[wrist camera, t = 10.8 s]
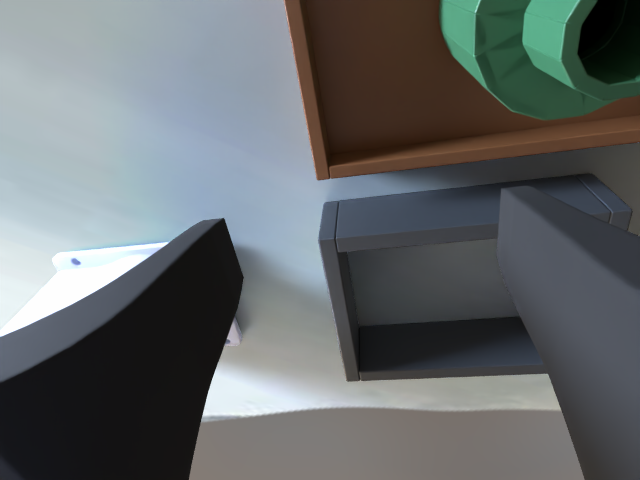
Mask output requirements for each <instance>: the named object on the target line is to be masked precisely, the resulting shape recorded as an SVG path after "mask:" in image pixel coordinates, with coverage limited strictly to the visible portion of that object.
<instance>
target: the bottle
mask: <svg viewBox="0 0 640 480" xmlns="http://www.w3.org/2000/svg"><path fill="white" fill-rule="evenodd" d="M439 24H440V29H441V33H442V36H443V39H444V42H445V44H446V45H447V47H448V49H449V50H450V53H451V54H452V56H453V57H454V58H455V59H456V60H457V61H458V62H459V63H460V64H461V65H462V66H463V67H464V68H465V69H466V70H467V71H468V72H469V73H470V74H471V75H472V76H473V77H474V78H475V79H476V80H477V81H478V82H479V83H480V84H481V85H482V86H483V87H484V88H485V89H486V90H487V91H489V92H490V93H491V94H492V95H493V96H494V97H495V98H497V99H498V100H499V101H500V102H501V103H502V104H503V105H505V106H506V107H507V108H508V109H509V110H510V111H512V112H514V113H518V114H522V115H526V116H530V117H533V118H537V119H541V120H554V119H562V118H570V117H578V116H583V115H587V114H589V113H591V112H593V111H595V110H597V109H599V108H601V107H603V106H605V105H608V104H610V103H612V102H614V101H616V100H618V99H621V98H629V97H636V96H637V95H640V0H440V1H439Z"/></svg>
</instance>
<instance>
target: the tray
mask: <svg viewBox="0 0 640 480" xmlns="http://www.w3.org/2000/svg"><path fill="white" fill-rule="evenodd" d="M439 1H440V0H284V5H285V10H286V16H287V21H288V27H289V32H290V37H291V43H292V48H293V53H294V59H295V64H296V70H297V75H298V80H299V86H300V91H301V97H302V102H303V107H304V113H305V118H306V124H307V129H308V134H309V140H310V145H311V151H312V156H313V161H314V167H315V172H316V178H317V180H325V179H330V178H331V179H333V178H341V177H350V176H358V175H367V174H375V173H384V172H392V171H401V170H409V169H418V168H426V167H435V166H443V165H451V164H460V163H468V162H477V161H485V160H494V159H502V158H511V157H519V156H528V155H536V154H545V153H553V152H562V151H570V150H579V149H587V148H596V147H604V146H612V145H621V144H629V143H638V142H640V95H637V96H636V97H629V98H621V99H618V100H616V101H614V102H612V103H610V104H608V105H605V106H603V107H601V108H599V109H597V110H595V111H593V112H591V113H589V114H587V115H583V116H578V117H570V118H562V119H554V120H541V119H537V118H533V117H530V116H526V115H522V114H518V113H514V112H512V111H510V110H509V109H508V108H507V107H506V106H505V105H503V104H502V103H501V102H500V101H499V100H498V99H497V98H495V97H494V96H493V95H492V94H491V93H490V92H489V91H487V90H486V89H485V88H484V87H483V86H482V85H481V84H480V83H479V82H478V81H477V80H476V79H475V78H474V77H473V76H472V75H471V74H470V73H469V72H468V71H467V70H466V69H465V68H464V67H463V66H462V65H461V64H460V63H459V62H458V61H457V60H456V59H455V58H454V57H453V56H452V54H451V53H450V50H449V49H448V47H447V45H446V44H445V42H444V39H443V36H442V33H441V29H440V24H439Z"/></svg>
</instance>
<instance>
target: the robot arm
mask: <svg viewBox="0 0 640 480" xmlns="http://www.w3.org/2000/svg"><path fill="white" fill-rule="evenodd" d="M496 257H497V260H498V263H499V267H500V270H501V273H502V276H503V279H504V282H505V285H506V288H507V291H508V293H509V295H510V297H511V299H512V301H513V303H514V305H515V307H516V309H517V311H518V313H519V315H520V317H521V319H522V321H523V323H524V325H525V327H526V329H527V331H528V333H529V335H530V337H531V339H532V341H533V343H534V345H535V347H536V349H537V351H538V353H539V355H540V358H541V360H542V362H543V364H544V366H545V368H546V371H547V373H548V375H549V377H550V380H551V383H552V385H553V388H554V391H555V394H556V396H557V399H558V402H559V405H560V407H561V410H562V413H563V415H564V418H565V421H566V424H567V427H568V430H569V433H570V436H571V439H572V442H573V445H574V448H575V451H576V454H577V457H578V460H579V463H580V466H581V469H582V472H583V475H584V479H585V480H640V236H638V235H635V234H633V233H631V232H628V231H626V230H623V229H621V228H619V227H616V226H614V225H611V224H609V223H607V222H605V221H603V220H600V219H598V218H596V217H594V216H592V215H590V214H587V213H585V212H583V211H581V210H579V209H577V208H575V207H573V206H571V205H569V204H567V203H565V202H563V201H561V200H559V199H557V198H555V197H553V196H551V195H549V194H547V193H544V192H542V191H540V190H538V189H536V188H533V187H530V186H520V187H510V188H501V200H500V214H499V228H498V241H497V255H496ZM77 259H78V260H79V261H78V260H77ZM53 263H54V265H55V267H56V268H57V270H58V273H57V274H56V275H55V276H54V277H53V278H52V279H51V280H50V281H49V283H48V284H47V285H46V286H45V287H44V288H43V289H42V290H41V291H40V292H39V293H38V294H37V295H36V296H35V297H34V298H33V299H32V300H31V301H30V302H29V303H28V304H27V305H26V306H25V307H24V308H23V309H22V310H21V311H20V312H19V313H18V314H17V315H16V316H15V317H14V318H13V319H12V320H11V321H10V322H9V323H8V324H7V325H6V326H5V327H4V328H3V329H2V330H1V331H0V480H189V475H190V470H191V464H192V460H193V455H194V450H195V445H196V441H197V436H198V432H199V427H200V423H201V419H202V415H203V410H204V406H205V402H206V398H207V394H208V391H209V387H210V384H211V381H212V378H213V375H214V372H215V369H216V367H217V364H218V361H219V359H220V356H221V353H222V350H223V348H224V346H236V345H239V344H240V343H241V341H242V334H241V332H240V329H239V326H238V323H237V321H236V318H235V314H236V311H237V308H238V304H239V300H240V295H241V290H242V284H243V279H244V277H243V274H242V271H241V268H240V265H239V262H238V259H237V256H236V253H235V250H234V247H233V244H232V241H231V238H230V235H229V232H228V229H227V226H226V223H225V220H224V218H221V219H212V220H203V221H201V222H199V223H197V224H196V225H194V226H192V227H191V228H189V229H188V230H186V231H185V232H183V233H182V234H180V235H179V236H178V237H176V238H175V239H173V240H172V241H171V242H165V243H155V244H145V245H135V246H125V247H115V248H105V249H95V250H85V251H75V252H65V253H58V254H57V255H56V256H55V257H54V258H53Z"/></svg>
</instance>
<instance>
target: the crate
mask: <svg viewBox="0 0 640 480" xmlns="http://www.w3.org/2000/svg"><path fill="white" fill-rule="evenodd" d="M520 186H530V187H533V188H536V189H538V190H540V191H542V192H544V193H547V194H549V195H551V196H553V197H555V198H557V199H559V200H561V201H563V202H565V203H567V204H569V205H571V206H573V207H575V208H577V209H579V210H581V211H583V212H585V213H587V214H590V215H592V216H594V217H596V218H598V219H600V220H603V221H605V222H607V223H609V224H611V225H614V226H616V227H619V228H621V229H623V230H626V231H627V230H628V226H629V222H630V218H631V215H632V209H631V208H630V207H629V206H628V205H627V204H626V203H625V202H623V201H622V200H621V199H620V198H619V197H618V196H617V195H616V194H615V193H613V192H612V191H611V190H610V189H609V188H608V187H607V186H606V185H605V184H603V183H602V182H601V181H600V180H599V179H598V178H597V177H596V176H595V175H593V174H583V175H575V176H574V175H570V176H561V177H552V178H543V179H534V180H525V181H515V182H506V183H497V184H488V185H479V186H470V187H460V188H451V189H442V190H433V191H424V192H415V193H405V194H396V195H387V196H378V197H369V198H360V199H351V200H341V201H339V202H338V201H335V202H326V203H324V205H323V212H322V218H321V224H320V231H319V237H318V243H319V248H320V253H321V258H322V263H323V268H324V273H325V278H326V283H327V288H328V293H329V298H330V303H331V308H332V313H333V318H334V323H335V328H336V333H337V337H338V342H339V347H340V352H341V357H342V362H343V367H344V372H345V377H346V381H360V380H361V381H372V380H397V379H423V378H448V377H473V376H498V375H523V374H548V373H547V371H546V368H545V366H544V364H543V362H542V360H541V358H540V355H539V353H538V351H537V349H536V347H535V345H534V343H533V341H532V339H531V337H530V335H529V333H528V331H527V329H526V327H525V325H524V323H523V321H522V319H521V317H514V318H497V319H481V320H464V321H447V322H431V323H414V324H398V325H381V326H365V327H360V328H359V324H358V318H357V311H356V305H355V299H354V292H353V286H352V280H351V274H350V267H349V261H348V255H347V252H349V251H360V250H371V249H383V248H394V247H405V246H416V245H427V244H438V243H450V242H461V241H472V240H483V239H494V238H498V228H499V214H500V200H501V188H510V187H520Z"/></svg>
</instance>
